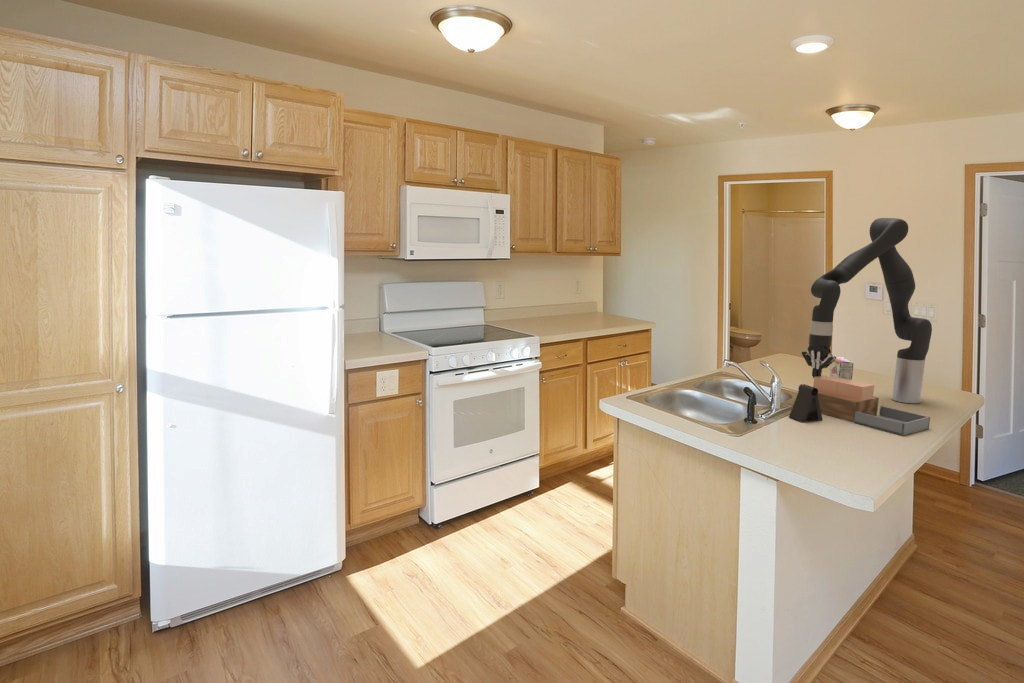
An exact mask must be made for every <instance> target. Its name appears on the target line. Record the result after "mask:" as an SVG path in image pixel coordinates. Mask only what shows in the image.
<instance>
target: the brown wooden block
mask: <svg viewBox="0 0 1024 683" xmlns="http://www.w3.org/2000/svg"><path fill="white" fill-rule="evenodd" d="M879 399H880V398H879V397H877V396H874V395H873V399H869V400H864V401H859V400H855V399H850V398H846V397H842V396H837V395H833V394H829V393H824V392H820V391H818V400H819V405H820V410H821V414H822V415H826V416H831V417H834V418H837V419H841V420H845V421H849V422H853V423H854V419H855V412H856V411H857V412H861V413H865V414H869V415H873V416H878V406H879Z"/></svg>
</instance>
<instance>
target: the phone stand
mask: <svg viewBox="0 0 1024 683" xmlns="http://www.w3.org/2000/svg"><path fill="white" fill-rule="evenodd" d="M822 415H823V414H822V413H821V410H820V405H819V400H818V389H817V388H814V387H813V386H811V385H809V384H804V383H803V384H802V383H801V384H800V385H799V386H798V391H797V395H796V398H795V400H794V403H793V405H792V407H791V411H790V413H789V415H788V418H789V419H792V420H793V421H794V420H795V421H797V422H800V423H810V422H823V416H822Z"/></svg>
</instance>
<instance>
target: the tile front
mask: <svg viewBox="0 0 1024 683" xmlns="http://www.w3.org/2000/svg"><path fill="white" fill-rule="evenodd" d="M874 388H875V384H871V383H867V382H862V381H858V380H854V379H852V380H845V381H839V382H838V384H837V393H836V395H837V396H842V397H846V398H850V399H855V400H859V401H864V400H869V399H873V396H874V392H875V391H874V390H875V389H874Z"/></svg>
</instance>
